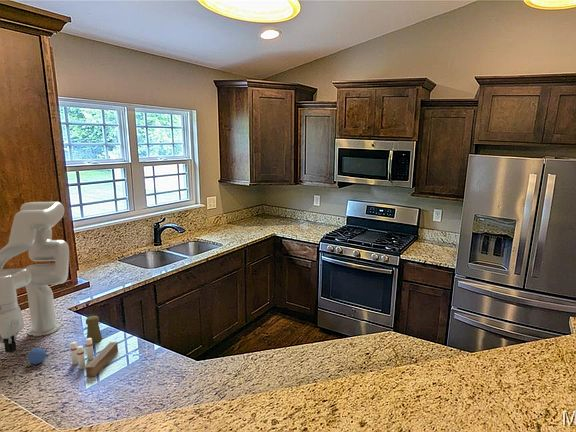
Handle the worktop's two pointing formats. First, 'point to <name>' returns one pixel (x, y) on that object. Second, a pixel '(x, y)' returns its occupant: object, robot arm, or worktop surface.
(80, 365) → the back right pin
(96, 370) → the wall
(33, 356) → the ball
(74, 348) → the front pin
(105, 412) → the worktop surface
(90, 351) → the back left pin
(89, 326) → the cork
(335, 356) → the worktop surface
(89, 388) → the worktop surface
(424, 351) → the worktop surface
